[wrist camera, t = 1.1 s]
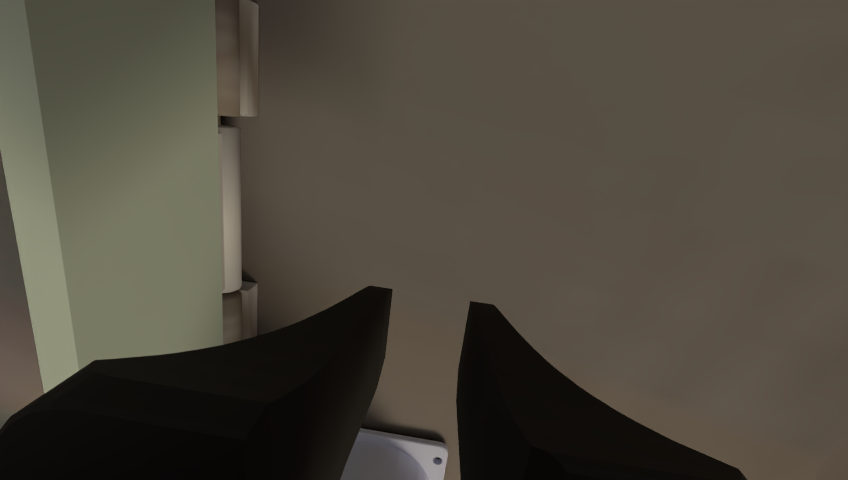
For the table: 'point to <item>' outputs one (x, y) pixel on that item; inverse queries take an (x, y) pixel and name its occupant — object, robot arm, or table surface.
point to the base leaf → (237, 99)
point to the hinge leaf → (118, 177)
